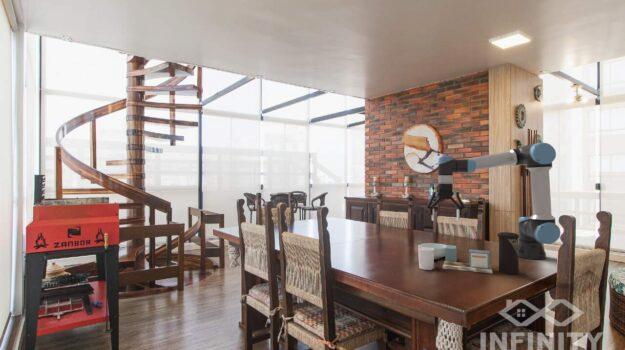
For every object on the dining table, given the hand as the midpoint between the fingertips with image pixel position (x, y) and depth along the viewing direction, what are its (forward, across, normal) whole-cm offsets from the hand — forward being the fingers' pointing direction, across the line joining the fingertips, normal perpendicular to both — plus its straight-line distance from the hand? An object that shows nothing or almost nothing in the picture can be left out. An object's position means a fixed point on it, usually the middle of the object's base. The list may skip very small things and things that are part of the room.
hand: (445, 221), depth 195 cm
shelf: (+22, -5, +21) cm, 31 cm away
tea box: (+22, -1, +8) cm, 23 cm away
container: (+22, -22, +27) cm, 41 cm away
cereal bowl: (+22, +5, -5) cm, 23 cm away
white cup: (+22, +14, +19) cm, 32 cm away
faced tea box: (+21, -10, +23) cm, 32 cm away
